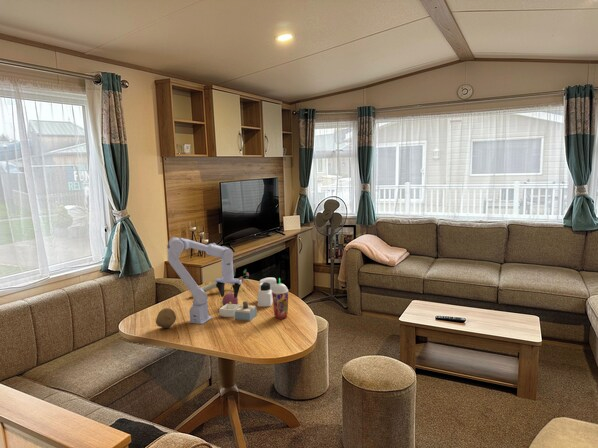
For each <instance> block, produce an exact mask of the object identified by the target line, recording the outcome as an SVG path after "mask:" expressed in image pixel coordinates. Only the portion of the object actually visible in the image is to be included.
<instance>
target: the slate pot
mask: <svg viewBox="0 0 598 448" xmlns="http://www.w3.org/2000/svg"><path fill="white" fill-rule="evenodd" d="M257 312H258V311H257V307H256V308H255V309H254V310H252V311H251V312H250V313H243V312H235V317H234V318H235V320H236V321H244V322H247V321H248V322H251V321H252V320H253V319H255V317H257V316H258V313H257Z"/></svg>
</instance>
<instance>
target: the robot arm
mask: <svg viewBox="0 0 598 448" xmlns="http://www.w3.org/2000/svg"><path fill="white" fill-rule="evenodd" d="M166 247H167V249H166V251H167V261H168V263H169V265H170V266H171V267H172V269H173V270H174V271H175V273H176V274H177V275H178V277H179V278H180V279H181V281H182V282H183V283H184V284H185V287H187V289H188V290H189V292H191V296H192V298H193V301H192V306H191V307H190V309H189V310H188V311H189V312H188V313H189V321H188V323H189V324H197V325H203V324H205V323H206V322H207V321H210V320H211V319H212V318H213V316H211V315H209V305H208V302H209V301H208V298H209V297H208V294H207V292H204V290H203V289H202V288H200V287H201V286H199V285H198V284H197V282H196V281H195V279H194V278H193V277H192V275H191V274H190V273H189V271H188V270H187V269H186V267H185V266H184V265H183V264H182V262H181V261H180V256H181V254H182V252H183V250H185V251H186V250H189V249H192V250H193V249H195V250H199V251H202V252H205V253H206V255H208V256H211V257H215V258H221V259H220V260H221V275H222V276H221V277H222V278H221V277H217V278H215V279H214V282H215V283H217V284H216V286H217V287H216V288H217V289H218V291H219V295H220V297H221V298H223V297H224V296H225V286H224V284H225V285H226V284H230V285H231V287H232V290H233V294H234V298H237V299H238V294H239V292H240V291H239V290H240V288H241V286H242V284H243V283H242V280H239V279H240V278H239V279H237V278H234V277H235V276H234V262H233V259H234V252H233V250H232V249H231V248H229V247H227V246H225V245H222V246H221V245H218V244H216V243H215V242H212V243H208V244H205V243H202V242H197V241H195V240H192V239H188V238H184V237H177V236H173V237H170V239H169V240H168V242H167V246H166ZM232 284H234V285H232Z"/></svg>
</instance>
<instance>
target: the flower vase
mask: <svg viewBox="0 0 598 448" xmlns="http://www.w3.org/2000/svg"><path fill="white" fill-rule="evenodd" d="M233 273H234V277H235V276H236V272H235V270H233ZM244 274H245V275H244ZM245 276H246V277H245ZM249 276H250V274H249V272H248V271H247V268H245V269H244V270H243V276H240V277H238V278H236V279H239V280H242V284H243V283H244V277H245V280H246V282H247V283H249V280H247V279H249ZM220 278H222V276H220ZM216 284H217V283H215V281H213V282H211V283H209V284H206V285H204V286H203V285H202V286H199V287H200V288H202V289H203V290H204V292H205V293H207V292H209V291H211V290H213V289H216V288H217V286H216ZM232 285H234V284H231V286H230V290H233V287H232ZM225 286H226V283H225V284H224V287H225Z"/></svg>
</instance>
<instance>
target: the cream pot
mask: <svg viewBox="0 0 598 448" xmlns="http://www.w3.org/2000/svg"><path fill="white" fill-rule="evenodd" d="M240 306H242V304H237V305H236V304H226V305H224V306H223V305H222V306H221V307H219V311H218V312H219V317H223V318H230V319H231V318H232V319H234V318H235V312H236V309H238V308H239V307H240Z"/></svg>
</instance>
